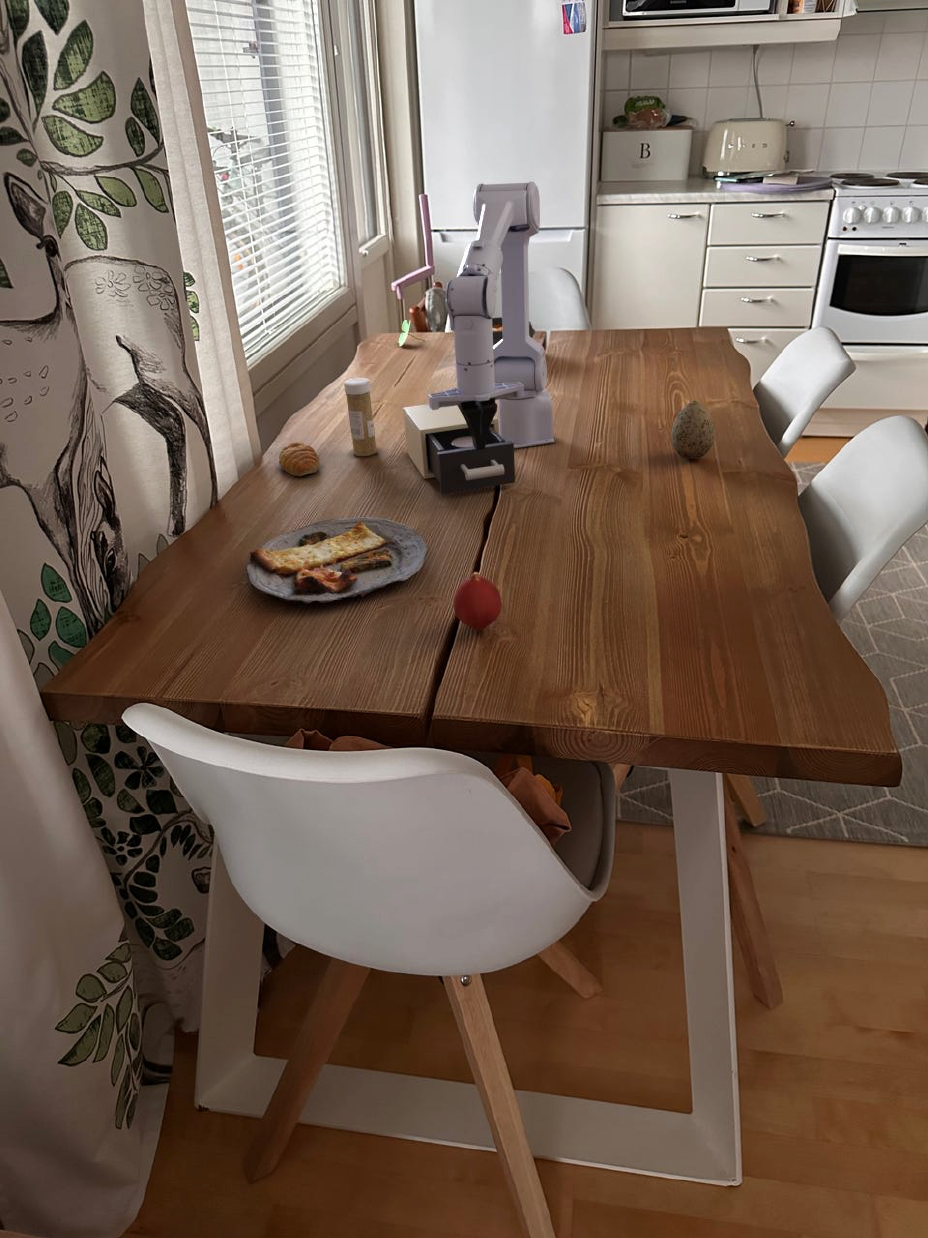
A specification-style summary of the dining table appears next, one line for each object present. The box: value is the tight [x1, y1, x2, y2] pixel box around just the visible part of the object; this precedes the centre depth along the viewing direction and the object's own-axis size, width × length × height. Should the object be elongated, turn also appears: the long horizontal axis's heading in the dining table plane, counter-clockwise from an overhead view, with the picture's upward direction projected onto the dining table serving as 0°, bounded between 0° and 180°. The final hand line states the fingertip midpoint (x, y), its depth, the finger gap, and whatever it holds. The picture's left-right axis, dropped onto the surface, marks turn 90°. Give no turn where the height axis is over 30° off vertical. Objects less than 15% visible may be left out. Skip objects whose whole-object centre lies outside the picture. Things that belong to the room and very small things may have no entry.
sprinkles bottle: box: [343, 377, 378, 457], centre depth 168 cm, size 5×5×14 cm
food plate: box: [245, 516, 428, 606], centre depth 129 cm, size 25×23×4 cm
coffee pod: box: [452, 436, 474, 449], centre depth 153 cm, size 5×5×5 cm
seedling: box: [398, 319, 426, 347], centre depth 241 cm, size 7×8×6 cm
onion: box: [452, 571, 503, 632], centre depth 111 cm, size 6×6×8 cm
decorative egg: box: [670, 400, 716, 460], centre depth 156 cm, size 7×7×10 cm
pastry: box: [278, 442, 320, 477], centre depth 164 cm, size 9×7×4 cm
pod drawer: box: [425, 426, 516, 495], centre depth 152 cm, size 17×12×7 cm
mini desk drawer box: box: [402, 403, 500, 479], centre depth 163 cm, size 14×14×9 cm
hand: (479, 447), depth 145 cm, fingers closed
